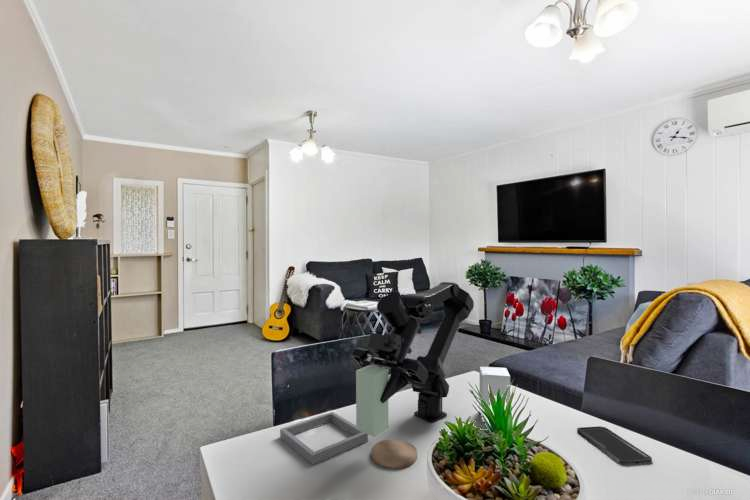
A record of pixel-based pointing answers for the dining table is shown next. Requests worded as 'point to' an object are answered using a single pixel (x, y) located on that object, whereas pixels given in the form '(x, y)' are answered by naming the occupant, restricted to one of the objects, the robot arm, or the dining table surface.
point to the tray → (328, 451)
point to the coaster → (394, 454)
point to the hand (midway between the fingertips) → (372, 398)
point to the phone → (614, 446)
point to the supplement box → (493, 382)
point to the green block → (371, 400)
